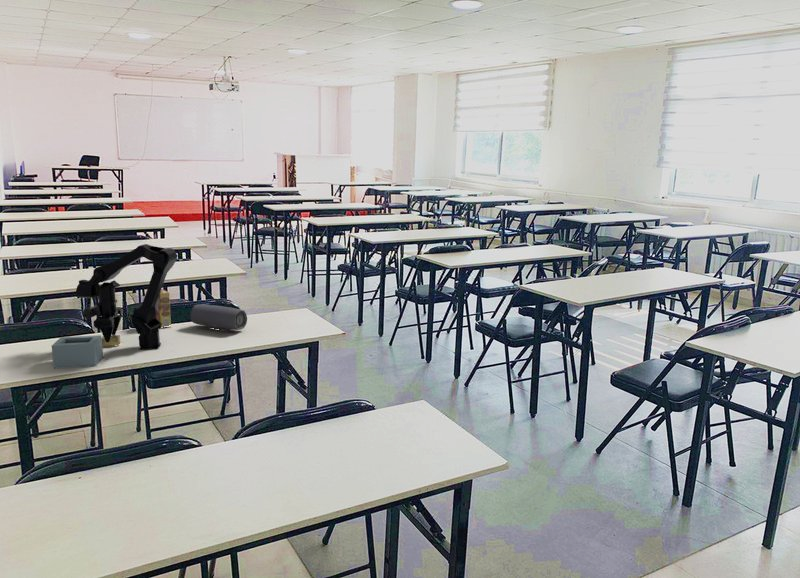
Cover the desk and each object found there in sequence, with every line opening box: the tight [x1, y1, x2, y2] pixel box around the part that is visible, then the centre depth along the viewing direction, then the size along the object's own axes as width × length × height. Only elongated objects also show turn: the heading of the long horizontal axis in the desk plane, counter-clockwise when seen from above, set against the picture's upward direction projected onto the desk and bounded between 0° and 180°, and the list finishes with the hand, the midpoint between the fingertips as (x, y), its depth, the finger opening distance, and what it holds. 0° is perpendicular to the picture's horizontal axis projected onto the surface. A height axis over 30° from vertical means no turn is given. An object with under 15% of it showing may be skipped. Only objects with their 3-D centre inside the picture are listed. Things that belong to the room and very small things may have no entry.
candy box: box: [155, 288, 172, 327], centre depth 255 cm, size 9×4×15 cm, turn 39°
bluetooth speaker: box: [189, 303, 248, 332], centre depth 251 cm, size 23×9×10 cm, turn 68°
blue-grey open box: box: [51, 334, 104, 369], centre depth 209 cm, size 13×10×8 cm
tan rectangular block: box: [101, 334, 121, 347], centre depth 229 cm, size 6×4×4 cm, turn 104°
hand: (110, 338), depth 229 cm, fingers open, 9 cm apart
